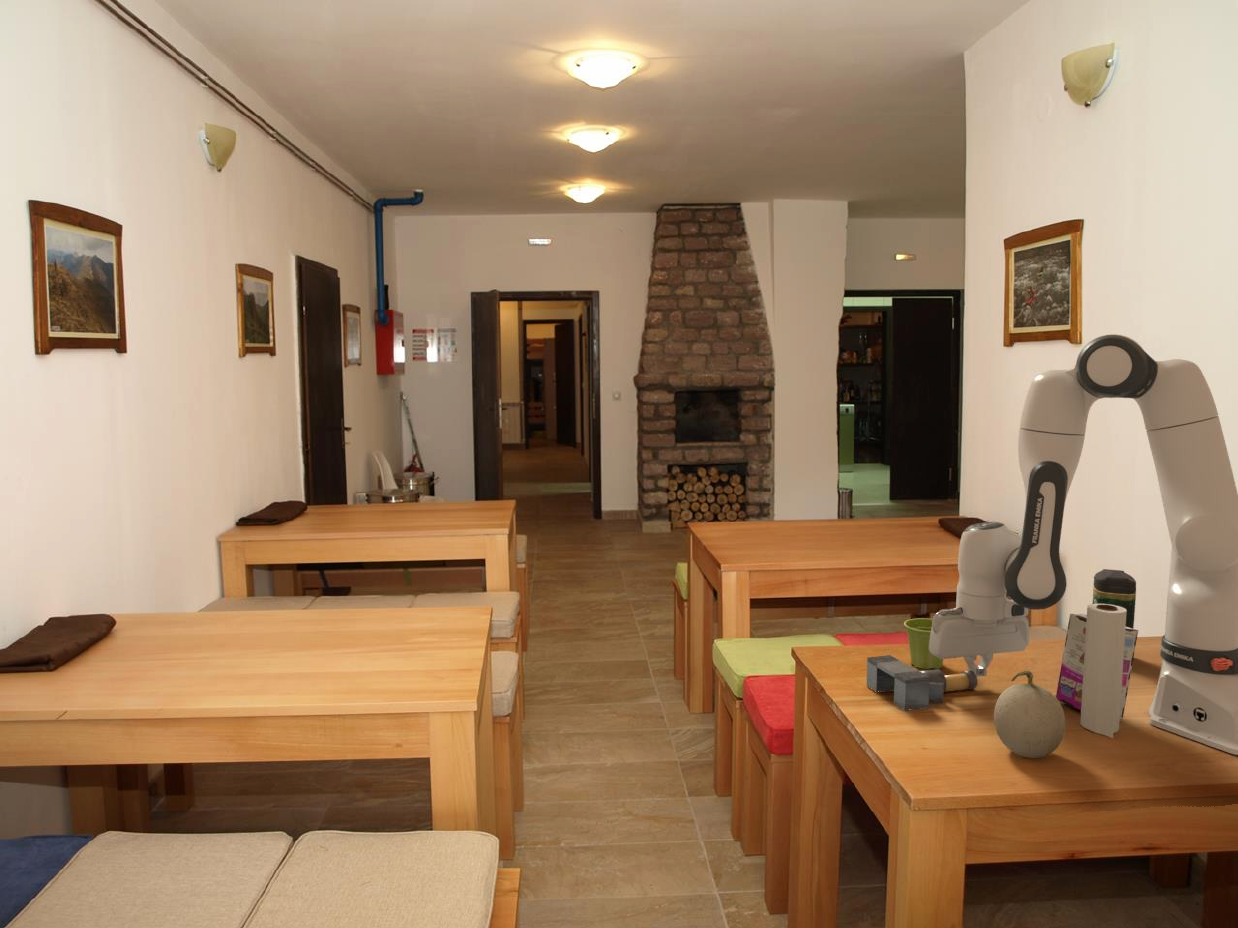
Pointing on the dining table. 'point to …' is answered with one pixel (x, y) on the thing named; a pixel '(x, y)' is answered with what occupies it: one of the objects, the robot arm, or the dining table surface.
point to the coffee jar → (1116, 591)
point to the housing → (902, 682)
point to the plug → (953, 680)
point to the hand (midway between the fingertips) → (977, 675)
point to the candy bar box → (1074, 663)
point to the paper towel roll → (1103, 668)
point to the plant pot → (921, 643)
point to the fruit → (1029, 719)
